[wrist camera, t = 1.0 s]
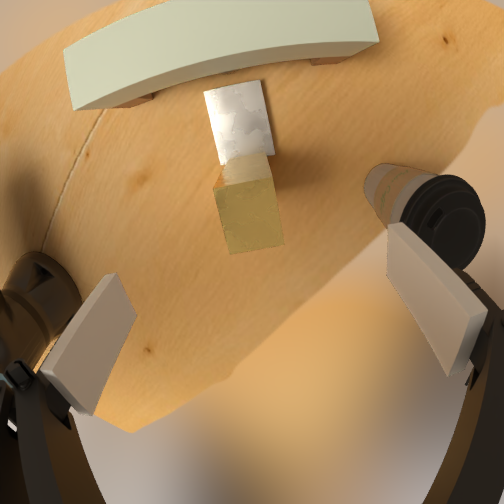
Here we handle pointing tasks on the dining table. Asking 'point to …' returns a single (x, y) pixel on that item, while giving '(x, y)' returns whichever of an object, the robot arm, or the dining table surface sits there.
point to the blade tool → (244, 167)
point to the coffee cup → (430, 209)
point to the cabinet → (209, 44)
